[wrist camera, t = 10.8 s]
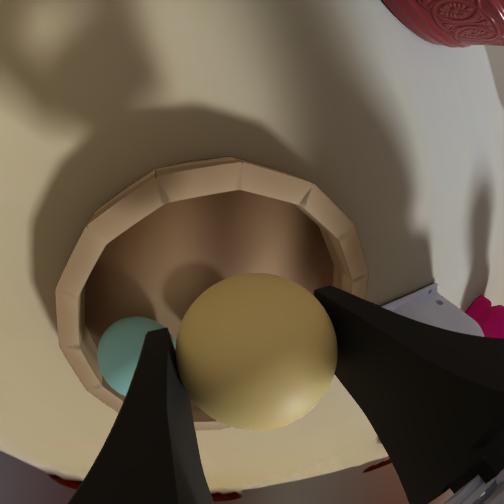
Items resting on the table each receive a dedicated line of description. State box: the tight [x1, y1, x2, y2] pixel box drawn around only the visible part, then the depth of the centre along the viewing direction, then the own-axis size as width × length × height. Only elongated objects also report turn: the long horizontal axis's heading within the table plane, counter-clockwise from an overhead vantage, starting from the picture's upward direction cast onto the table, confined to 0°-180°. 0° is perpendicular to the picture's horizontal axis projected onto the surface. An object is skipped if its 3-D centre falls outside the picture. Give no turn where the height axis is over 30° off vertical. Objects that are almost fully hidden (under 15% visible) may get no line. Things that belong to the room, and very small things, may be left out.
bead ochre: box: [175, 273, 338, 431], centre depth 8 cm, size 5×5×5 cm
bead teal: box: [97, 316, 176, 396], centre depth 14 cm, size 5×5×5 cm
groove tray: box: [55, 157, 369, 430], centre depth 17 cm, size 18×18×3 cm
